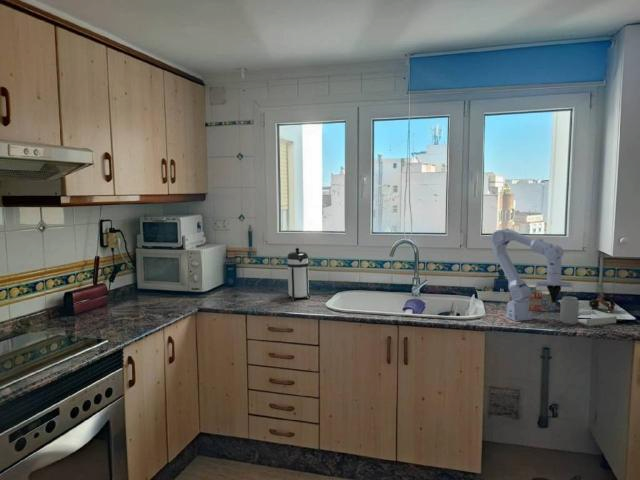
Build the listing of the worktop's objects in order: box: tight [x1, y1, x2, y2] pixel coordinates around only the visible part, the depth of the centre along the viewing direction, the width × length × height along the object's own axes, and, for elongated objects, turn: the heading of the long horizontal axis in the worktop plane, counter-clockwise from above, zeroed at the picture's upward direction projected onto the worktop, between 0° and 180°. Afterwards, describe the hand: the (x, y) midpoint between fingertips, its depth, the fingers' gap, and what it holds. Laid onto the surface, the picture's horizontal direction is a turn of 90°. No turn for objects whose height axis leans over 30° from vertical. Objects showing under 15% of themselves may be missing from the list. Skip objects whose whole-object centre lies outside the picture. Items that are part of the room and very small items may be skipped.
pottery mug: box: [588, 295, 616, 312], centre depth 235 cm, size 12×10×8 cm
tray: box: [578, 309, 617, 327], centre depth 219 cm, size 15×13×3 cm
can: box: [559, 295, 580, 326], centre depth 216 cm, size 8×8×12 cm
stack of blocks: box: [508, 283, 556, 313], centre depth 242 cm, size 21×6×12 cm, turn 66°
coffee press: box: [286, 247, 311, 299], centre depth 278 cm, size 17×16×30 cm
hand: (553, 302), depth 213 cm, fingers closed
